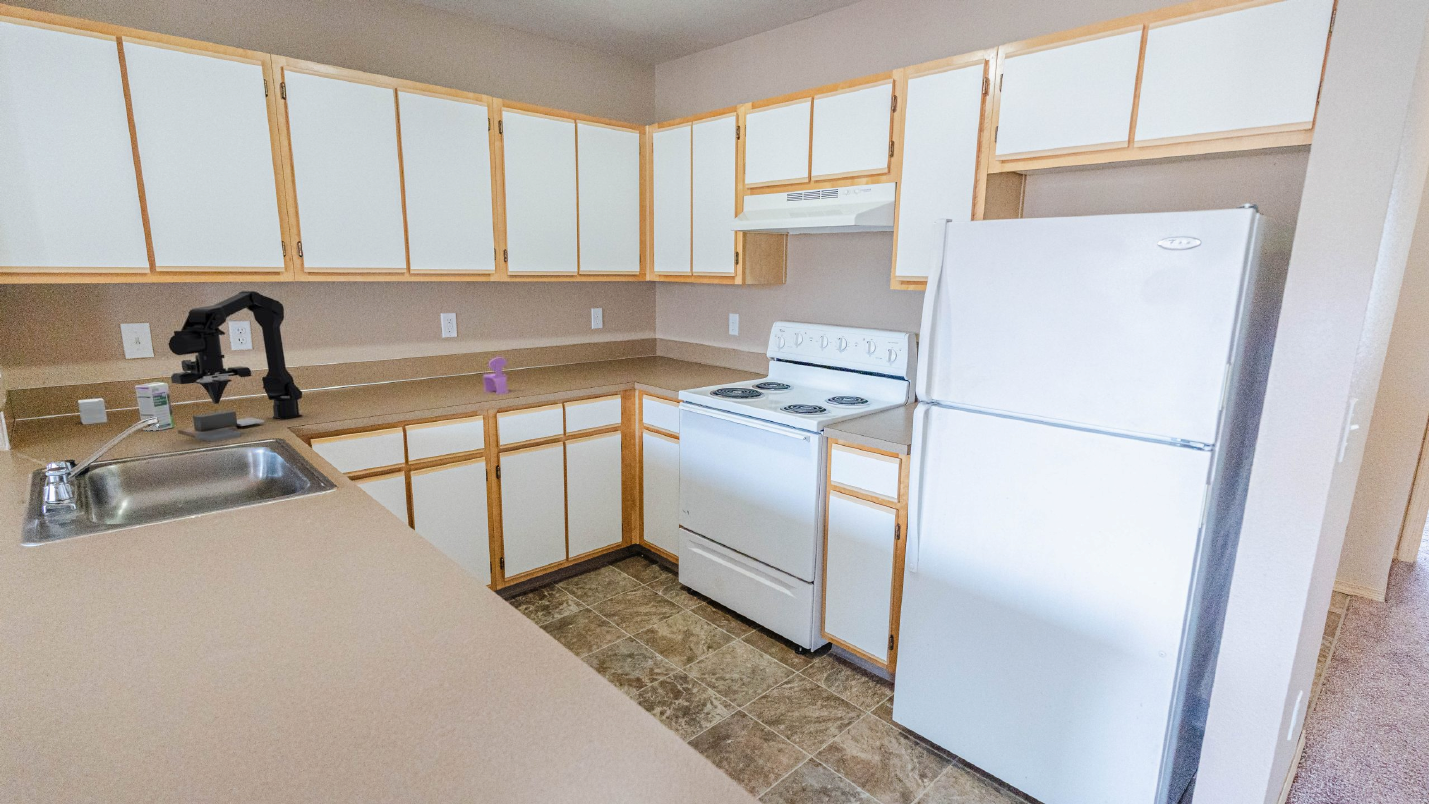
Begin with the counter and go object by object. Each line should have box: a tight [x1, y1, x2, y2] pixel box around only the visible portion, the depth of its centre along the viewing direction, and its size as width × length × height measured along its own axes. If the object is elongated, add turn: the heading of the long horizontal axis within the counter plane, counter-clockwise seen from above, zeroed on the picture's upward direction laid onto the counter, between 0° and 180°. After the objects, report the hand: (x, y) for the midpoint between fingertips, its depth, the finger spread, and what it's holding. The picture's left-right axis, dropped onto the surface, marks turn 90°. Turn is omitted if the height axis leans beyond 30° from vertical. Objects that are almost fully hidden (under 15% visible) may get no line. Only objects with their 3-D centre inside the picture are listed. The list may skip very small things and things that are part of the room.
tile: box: [195, 429, 242, 442], centre depth 201 cm, size 2×9×8 cm
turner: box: [192, 409, 265, 432], centre depth 211 cm, size 17×8×4 cm, turn 152°
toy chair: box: [482, 356, 510, 395], centre depth 279 cm, size 8×9×15 cm
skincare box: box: [77, 397, 108, 425], centre depth 220 cm, size 6×6×7 cm
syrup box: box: [134, 381, 175, 432], centre depth 210 cm, size 6×6×14 cm
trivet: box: [177, 426, 238, 437], centre depth 208 cm, size 11×11×1 cm
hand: (216, 403), depth 200 cm, fingers closed
